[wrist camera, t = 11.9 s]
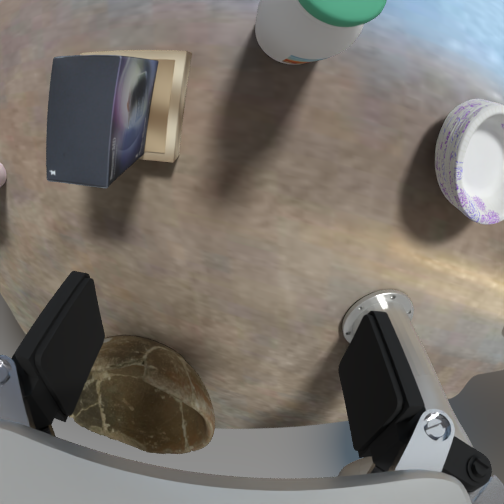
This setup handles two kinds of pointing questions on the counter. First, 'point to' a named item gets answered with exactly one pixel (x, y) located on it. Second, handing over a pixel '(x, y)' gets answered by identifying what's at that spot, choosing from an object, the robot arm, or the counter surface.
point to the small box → (97, 117)
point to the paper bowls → (473, 160)
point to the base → (163, 101)
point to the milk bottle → (311, 27)
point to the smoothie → (2, 175)
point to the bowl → (146, 398)
